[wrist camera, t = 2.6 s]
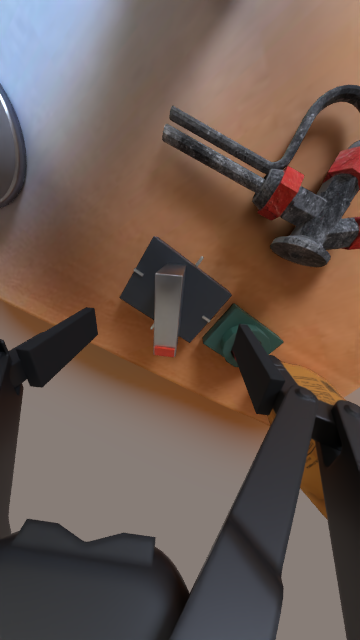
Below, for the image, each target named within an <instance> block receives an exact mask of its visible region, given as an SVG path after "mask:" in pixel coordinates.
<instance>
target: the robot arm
mask: <svg viewBox="0 0 360 640" xmlns="http://www.w3.org/2000/svg"><path fill="white" fill-rule="evenodd" d="M25 174H26V149H25V143H24V138H23V134H22V130H21V127H20V124H19V121H18V118H17V115H16V113H15V111H14V108H13V106H12V104H11V102H10V100H9V98H8V96H7V94H6V92H5V91H4V89H3V87H2V85H1V84H0V208H1V207H4V206H6V205H8V204H9V203H11V202H12V201H13V200H14V199H15V198H16V197H17V195H18V194H19V192H20V190H21V189H22V186H23V183H24V179H25ZM97 335H98V331H97V324H96V316H95V309H94V308H88V307H86V308H84V309H82V310H81V311H79V312H77V313H76V314H74V315H72V316H71V317H69V318H67V319H66V320H64V321H62V322H60V323H59V324H57V325H55V326H54V327H52V328H51V329H49V330H47V331H45V332H42V333H40V334H38V335H36V336H34V337H33V338H31V339H29V340H27V342H24V343H22V344H21V345H19V346H17V347H15V348H13V349H12V350H10V351H8V349H7V347H6V345H5V342H4V340H1V339H0V640H275V639H276V634H277V629H278V624H279V618H280V614H281V607H282V600H283V584H282V580H281V573H282V566H283V562H284V558H285V553H286V548H287V544H288V540H289V535H290V531H291V526H292V522H293V517H294V513H295V508H296V503H297V499H298V495H299V489H300V486H301V481H302V477H303V472H304V467H305V463H306V458H307V454H308V449H309V445H310V440H311V439H313V440H315V445H316V451H317V457H318V463H319V469H320V476H321V482H322V488H323V494H324V500H325V507H326V513H327V519H328V525H329V531H330V537H331V544H332V550H333V556H334V562H335V568H336V575H337V581H338V587H339V593H340V600H341V606H342V612H343V618H344V624H345V631H346V637H347V640H360V407H359V406H358V405H356V404H354V403H351V402H349V401H346V400H338V401H337V402H336V403H335V404H334V405H332V404H329V403H326V402H323V401H320V400H318V398H317V397H316V395H315V394H314V393H312V392H311V391H310V390H308V389H307V388H305V387H302V386H299V385H298V384H297V383H296V381H295V380H294V379H293V377H292V376H291V375H290V373H289V372H288V371H287V369H286V368H285V367H284V365H283V364H282V363H281V361H280V360H279V359H277V358H276V357H275V356H273V355H268V354H267V352H266V351H265V350H264V348H263V347H262V345H261V344H260V342H259V341H258V339H257V338H256V336H255V335H254V333H253V332H252V331H251V329H250V328H249V326H248V325H245V324H239V326H238V329H237V333H236V337H235V341H234V344H233V348H232V350H233V353H234V356H235V358H236V361H237V364H238V366H239V369H240V372H241V374H242V377H243V380H244V382H245V385H246V388H247V390H248V393H249V396H250V398H251V401H252V404H253V406H254V409H255V412H256V414H263V415H270V413H271V411H272V408H273V410H274V412H275V414H276V416H275V418H274V420H273V422H272V424H271V426H270V428H269V430H268V432H267V434H266V436H265V438H264V441H263V442H262V445H261V447H260V449H259V451H258V453H257V455H256V457H255V459H254V461H253V463H252V466H251V467H250V469H249V472H248V474H247V476H246V478H245V480H244V482H243V484H242V486H241V488H240V490H239V493H238V495H237V497H236V499H235V501H234V503H233V505H232V507H231V509H230V511H229V513H228V515H227V517H226V520H225V521H224V524H223V526H222V528H221V530H220V532H219V534H218V536H217V538H216V540H215V542H214V544H213V546H212V548H211V551H210V553H209V555H208V557H207V559H206V561H205V563H204V565H203V567H202V569H201V571H200V573H199V575H198V577H197V579H196V581H195V583H194V586H193V588H192V590H191V592H190V594H189V591H188V589H187V587H186V585H185V582H184V580H183V578H182V576H181V575H180V573H179V571H178V570H177V568H176V567H175V565H174V564H173V562H172V561H171V560H170V559H169V558H168V557H167V556H166V555H165V554H164V553H163V552H162V551H161V550H159V549H158V548H156V547H155V537H150V536H142V535H136V534H128V533H121V534H117V535H113V536H109V537H105V538H101V539H98V540H94V541H90V542H84V541H82V540H81V539H79V538H78V537H77V536H75V535H74V534H72V533H71V532H70V531H68V530H67V529H65V528H64V527H62V526H61V525H60V524H58V523H52V522H45V521H39V520H32V519H27V520H26V522H25V523H24V525H23V526H22V528H21V530H20V531H18V532H15V533H12V534H11V529H10V524H9V519H8V518H9V517H8V513H9V504H10V495H11V487H12V479H13V470H14V462H15V453H16V446H17V445H16V444H17V436H18V428H19V420H20V412H21V404H22V395H23V385H22V383H23V382H24V381H25V380H26V379H28V382H29V384H30V386H33V387H43V386H44V385H45V384H46V383H47V382H49V381H50V380H51V379H52V378H53V377H54V376H55V375H56V374H57V373H58V372H59V371H60V370H61V369H62V368H63V367H64V366H65V365H66V364H67V363H69V362H70V361H71V360H72V359H73V358H74V357H75V356H76V355H77V354H78V353H79V352H80V351H81V350H82V349H83V348H84V347H85V346H86V345H87V344H88V343H90V342H91V341H92V340H93V339H94V338H95V337H96V336H97Z"/></svg>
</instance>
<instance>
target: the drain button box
mask: <svg viewBox="0 0 360 640" xmlns="http://www.w3.org/2000/svg"><path fill="white" fill-rule="evenodd" d="M239 324H245V325H248V326H249V328H250V329H251V331H252V332H253V333H254V335H255V336H256V338H257V339H258V341H259V342H260V344H261V345H262V347H263V348H264V350H265V351H266V352H267V354H268V355H269V354H270V353H271V352H273V351H274V350H275V349H276V348H277V347H279V346H280V345H281V344H282V343H283V341H282V340H281V339H280V338H279V336H277V335H276V334H275V333H273V332H272V331H271V330H269V329H268V328H267V327H265V326H264V325H263V324H261V323H260V322H259V321H257V320H256V319H255V318H253V317H252V316H251V315H249V314H248V313H247V312H245V311H244V310H243V309H241V308H240V307H239V306H237V305H236V304H235V303H234V304H233V305H232V306H231V307H230V308H229V309H228V310H227V311H226V312H225V313H224V315H223V316H222V317H221V318H220V319H219V320H218V321H217V322H216V323H215V324H214V326H213V327H212V328H211V329H210V330H209V331H208V332H207V333H206V334H205V335H204V337H203V344H205V345H206V346H208V347H209V348H211V349H212V350H214V351H215V352H217V353H219V354H220V355H222V356H223V357H225V359H226V361H227V362H228V363H230V364H231V365H233V366H234V367H239V366H238V364H237V361H236V360H235V357H234V354H233V351H232V348H233V344H234V341H235V337H236V333H237V329H238V326H239Z"/></svg>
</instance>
